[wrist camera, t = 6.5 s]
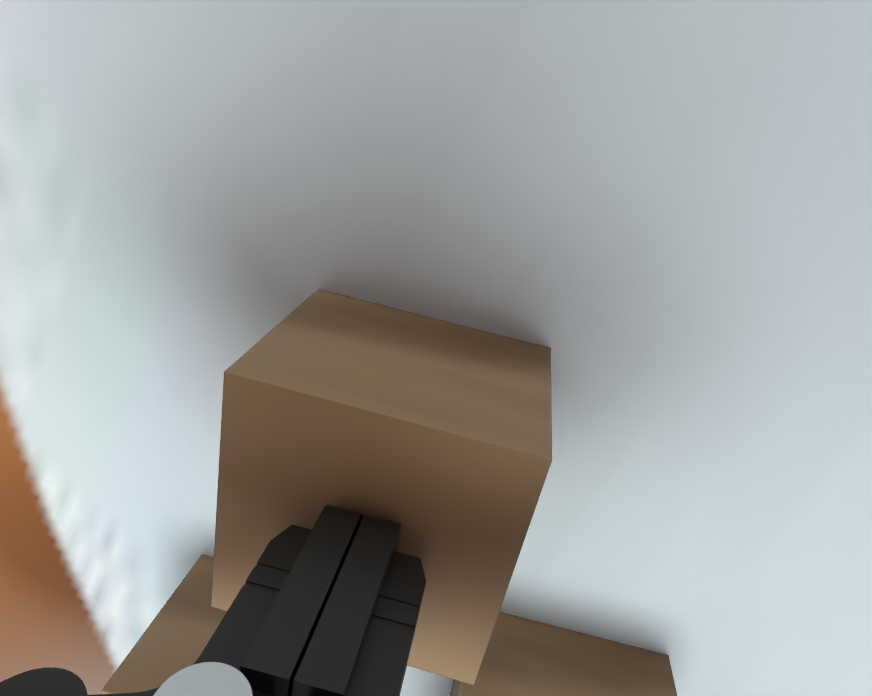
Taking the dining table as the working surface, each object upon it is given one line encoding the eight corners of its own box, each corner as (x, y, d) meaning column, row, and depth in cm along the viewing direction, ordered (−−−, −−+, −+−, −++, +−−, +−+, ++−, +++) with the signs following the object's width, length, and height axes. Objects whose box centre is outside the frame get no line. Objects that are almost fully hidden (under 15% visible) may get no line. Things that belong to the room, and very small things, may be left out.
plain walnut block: (320, 287, 15) (224, 371, 11) (550, 346, 15) (551, 460, 10) (297, 474, 18) (211, 606, 13) (492, 529, 17) (473, 685, 13)
